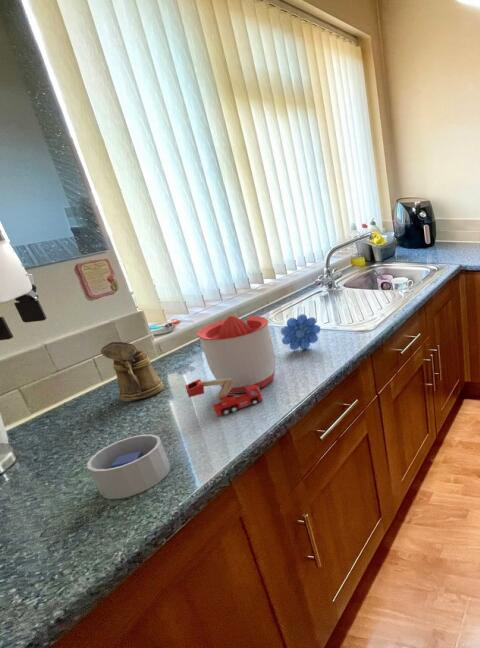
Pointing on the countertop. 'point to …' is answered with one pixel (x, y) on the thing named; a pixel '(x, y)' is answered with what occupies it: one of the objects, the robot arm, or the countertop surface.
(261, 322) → the citrus juicer
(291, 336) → the blue flower
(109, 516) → the countertop surface
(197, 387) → the toy fire truck
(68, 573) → the countertop surface
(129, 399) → the wooden mug
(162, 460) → the grey bowl
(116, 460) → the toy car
